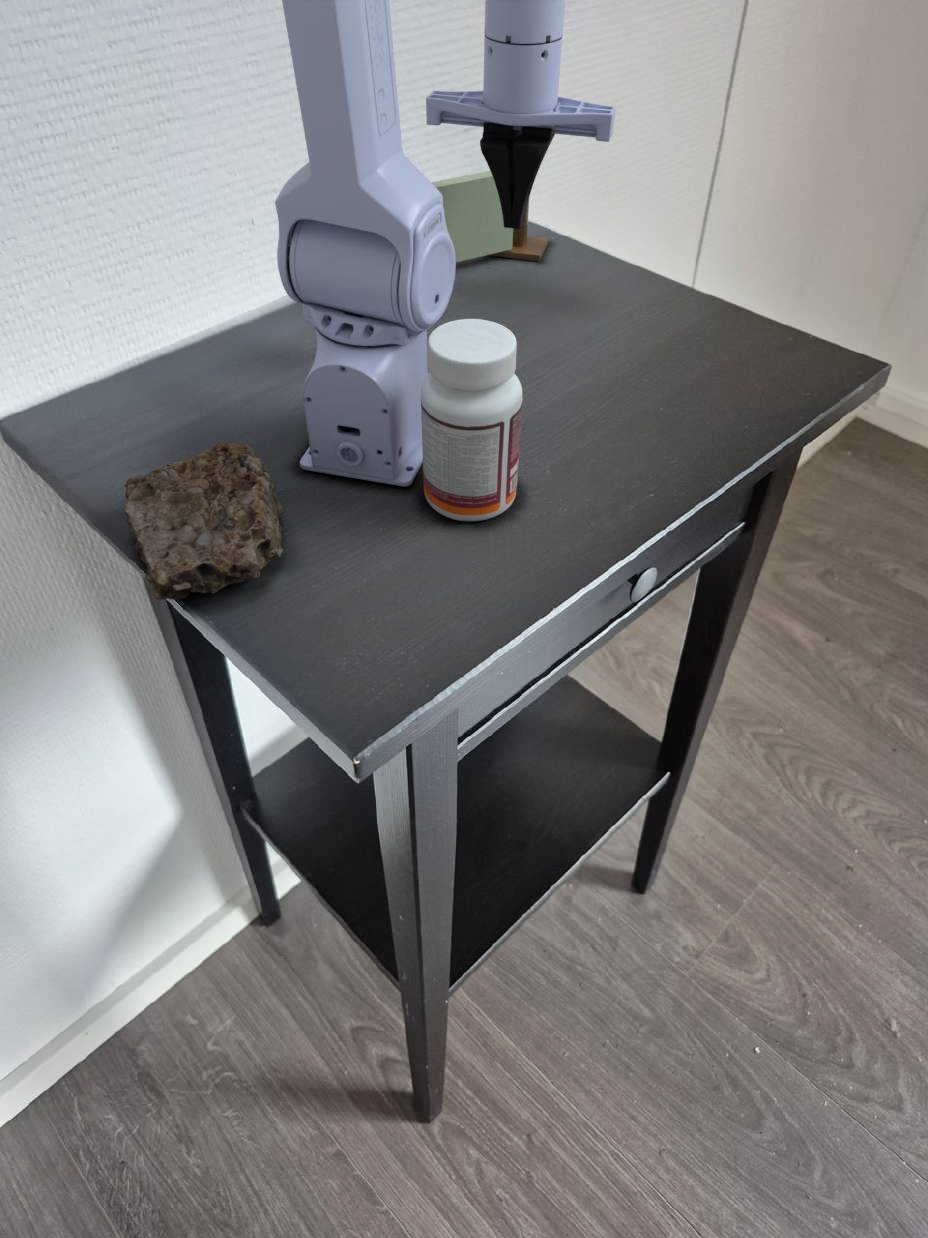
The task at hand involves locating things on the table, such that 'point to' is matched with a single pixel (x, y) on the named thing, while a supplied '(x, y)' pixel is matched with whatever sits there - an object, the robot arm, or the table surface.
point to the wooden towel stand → (525, 244)
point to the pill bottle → (471, 420)
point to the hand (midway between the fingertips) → (514, 223)
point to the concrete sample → (205, 521)
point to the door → (474, 216)
